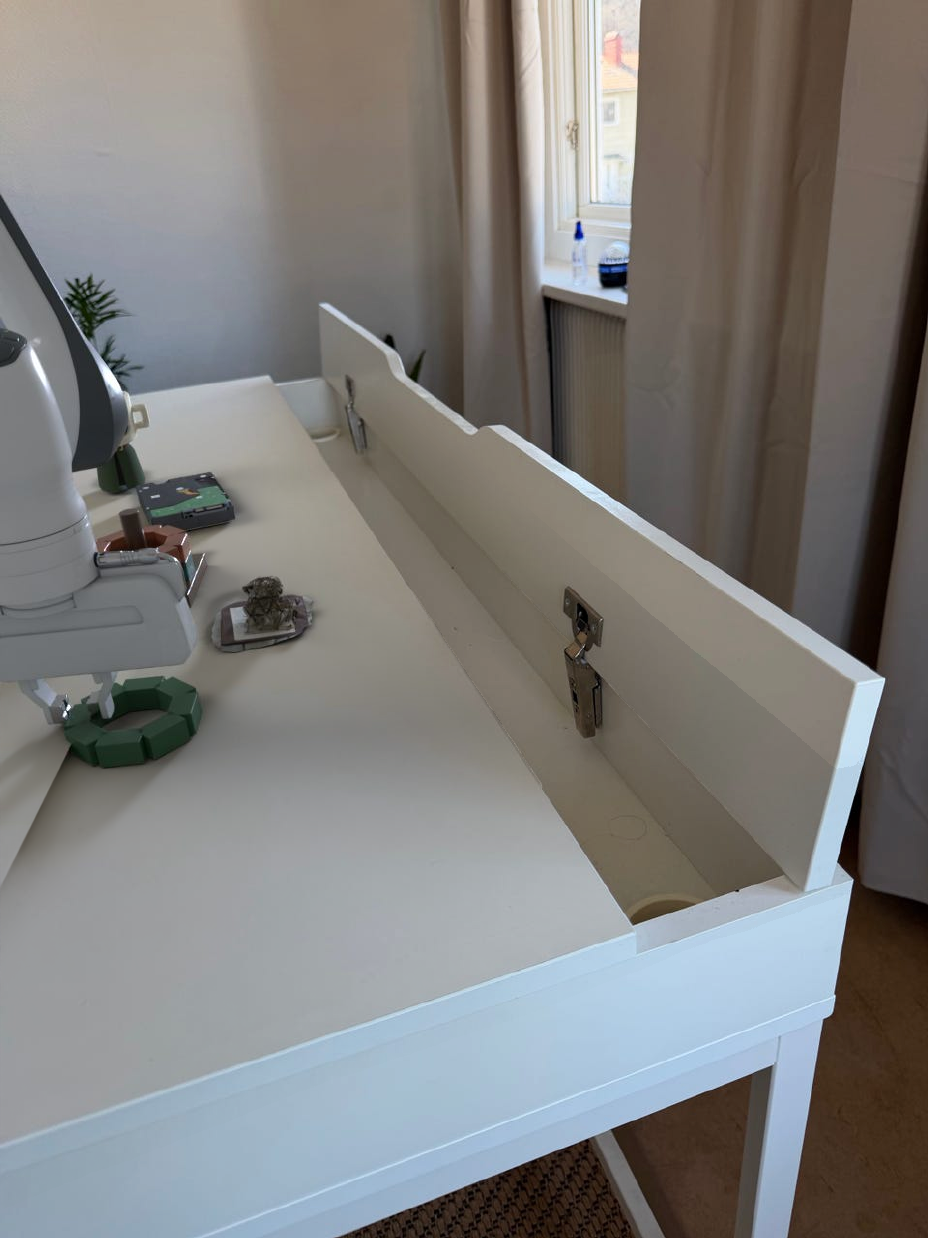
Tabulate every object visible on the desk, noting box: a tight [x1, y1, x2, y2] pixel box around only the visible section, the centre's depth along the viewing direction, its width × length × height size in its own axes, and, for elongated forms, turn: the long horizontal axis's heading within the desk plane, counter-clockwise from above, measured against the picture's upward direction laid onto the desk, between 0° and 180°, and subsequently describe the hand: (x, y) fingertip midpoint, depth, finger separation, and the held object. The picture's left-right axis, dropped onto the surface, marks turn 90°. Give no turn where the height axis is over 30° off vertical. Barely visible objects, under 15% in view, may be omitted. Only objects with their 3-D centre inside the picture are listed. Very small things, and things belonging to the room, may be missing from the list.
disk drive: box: [135, 471, 236, 532], centre depth 122 cm, size 10×3×15 cm
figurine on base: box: [210, 575, 314, 653], centre depth 92 cm, size 12×6×11 cm
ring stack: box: [96, 508, 208, 608], centre depth 99 cm, size 11×11×9 cm
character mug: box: [96, 390, 151, 493], centre depth 130 cm, size 11×7×13 cm, turn 111°
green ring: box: [62, 675, 203, 769], centre depth 76 cm, size 10×10×2 cm
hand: (81, 717), depth 75 cm, fingers closed on green ring, 2 cm apart
